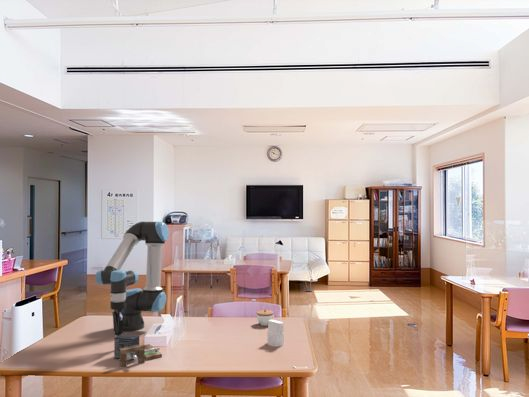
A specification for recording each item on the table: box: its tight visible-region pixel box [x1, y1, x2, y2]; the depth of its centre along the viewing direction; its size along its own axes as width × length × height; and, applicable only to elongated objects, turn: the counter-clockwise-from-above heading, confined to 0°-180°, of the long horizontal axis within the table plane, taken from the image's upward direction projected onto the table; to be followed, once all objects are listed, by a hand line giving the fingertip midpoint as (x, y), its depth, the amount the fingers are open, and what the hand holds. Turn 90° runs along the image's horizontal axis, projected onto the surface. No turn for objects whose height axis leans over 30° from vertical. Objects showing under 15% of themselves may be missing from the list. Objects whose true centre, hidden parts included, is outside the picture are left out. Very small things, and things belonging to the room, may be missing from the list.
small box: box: [113, 333, 140, 362], centre depth 207 cm, size 11×6×10 cm, turn 76°
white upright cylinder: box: [267, 319, 285, 347], centre depth 227 cm, size 9×9×12 cm
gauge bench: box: [119, 343, 163, 369], centre depth 208 cm, size 20×20×8 cm
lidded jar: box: [256, 308, 275, 327], centre depth 263 cm, size 11×11×9 cm
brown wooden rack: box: [120, 343, 160, 362], centre depth 200 cm, size 19×10×6 cm, turn 125°
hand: (118, 346), depth 217 cm, fingers closed
